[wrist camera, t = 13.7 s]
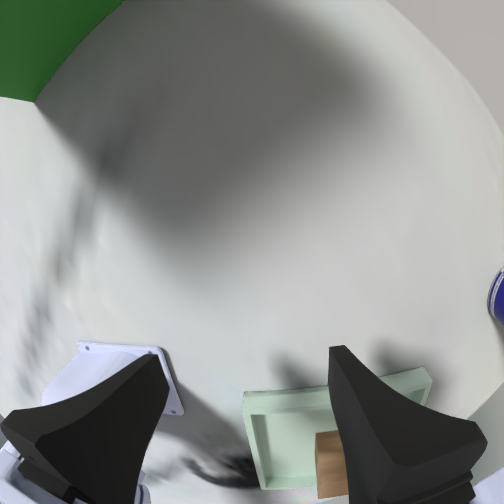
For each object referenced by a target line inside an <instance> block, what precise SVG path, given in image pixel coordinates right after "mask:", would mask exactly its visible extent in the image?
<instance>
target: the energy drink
mask: <svg viewBox="0 0 504 504" xmlns="http://www.w3.org/2000/svg"><path fill="white" fill-rule="evenodd" d="M488 308H489V311H490V313H491V315H492V316H493V317H494V318H496V319H497V320H498V321H500V322H501V323H502V324H503V325H504V267H503V268H502V269H501V270H500V271H499V272H498V273H497V275H496V276H495V278H494V280H493V282H492V285H491V287H490V291H489V296H488Z"/></svg>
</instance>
